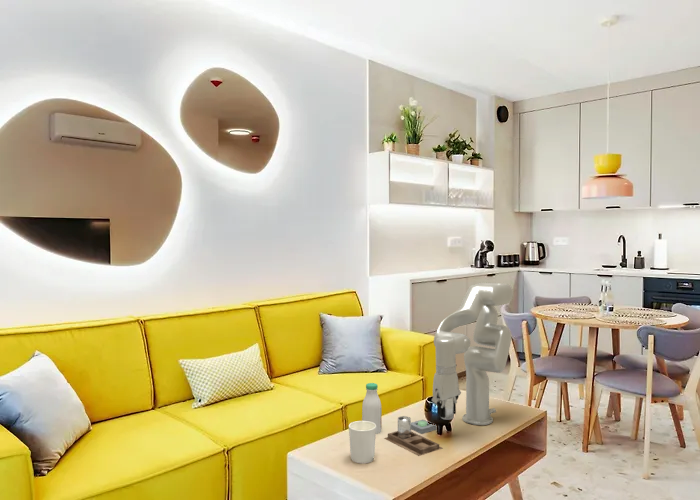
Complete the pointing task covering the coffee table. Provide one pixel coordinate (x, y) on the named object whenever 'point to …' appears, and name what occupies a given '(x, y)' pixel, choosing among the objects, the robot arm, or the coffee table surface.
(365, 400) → the milk bottle
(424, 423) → the button
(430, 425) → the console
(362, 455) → the white cup
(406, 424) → the cylinder
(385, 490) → the coffee table surface
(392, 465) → the coffee table surface
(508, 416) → the coffee table surface
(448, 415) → the silver rounded cylinder
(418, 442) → the brown cruet tray
